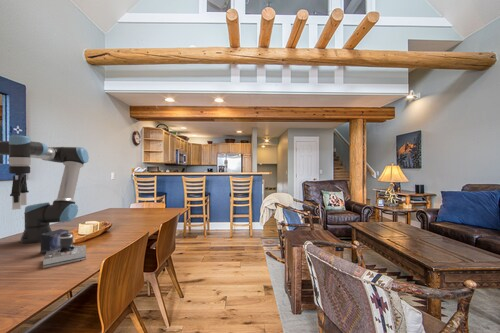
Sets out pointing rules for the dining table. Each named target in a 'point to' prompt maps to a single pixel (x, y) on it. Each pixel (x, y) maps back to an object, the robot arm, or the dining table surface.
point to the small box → (51, 240)
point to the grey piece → (64, 256)
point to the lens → (66, 242)
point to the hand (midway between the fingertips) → (19, 207)
